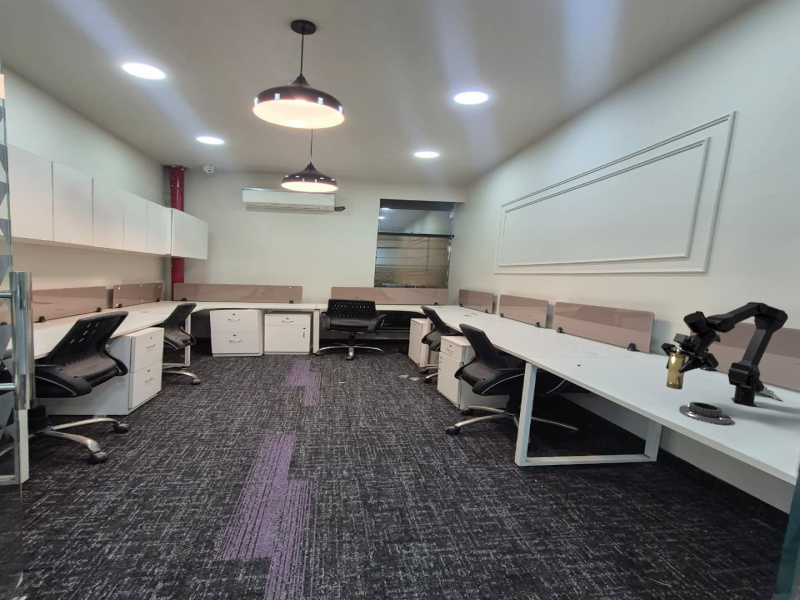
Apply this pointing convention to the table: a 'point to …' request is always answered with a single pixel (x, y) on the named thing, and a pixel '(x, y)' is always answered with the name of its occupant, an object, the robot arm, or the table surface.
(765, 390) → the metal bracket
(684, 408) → the grey flange
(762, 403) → the table surface
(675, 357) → the brass pepper mill
